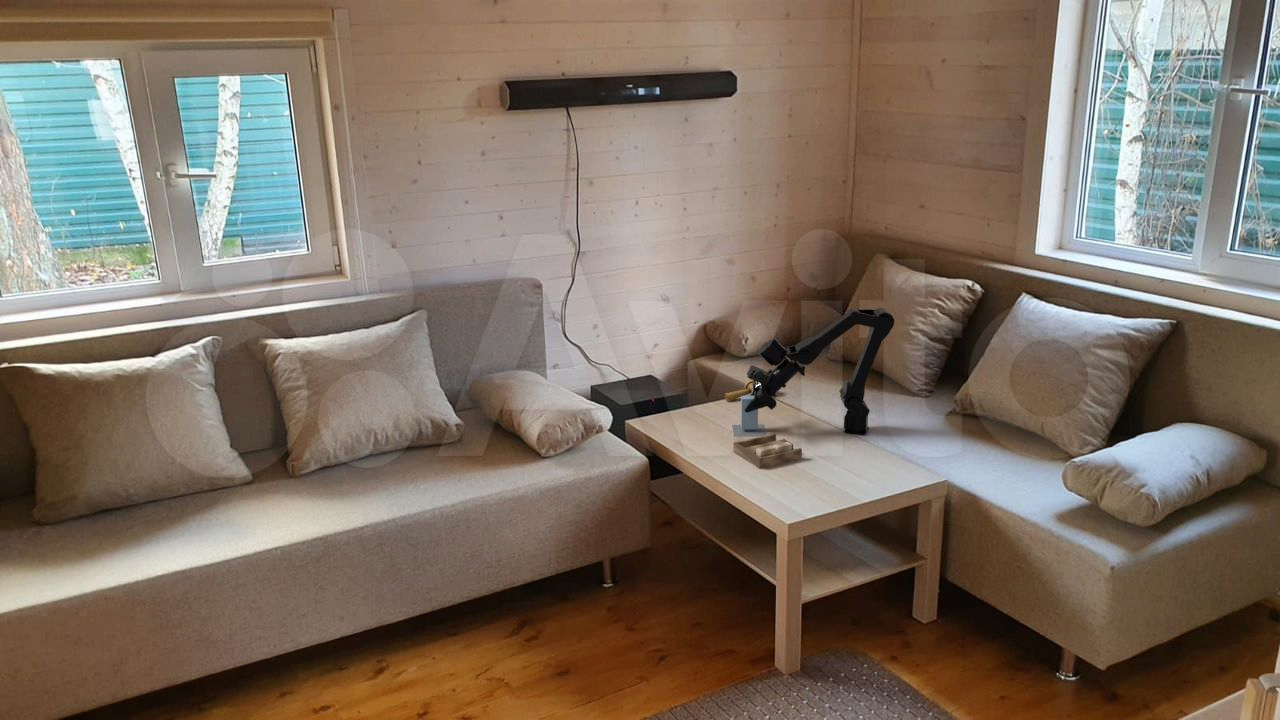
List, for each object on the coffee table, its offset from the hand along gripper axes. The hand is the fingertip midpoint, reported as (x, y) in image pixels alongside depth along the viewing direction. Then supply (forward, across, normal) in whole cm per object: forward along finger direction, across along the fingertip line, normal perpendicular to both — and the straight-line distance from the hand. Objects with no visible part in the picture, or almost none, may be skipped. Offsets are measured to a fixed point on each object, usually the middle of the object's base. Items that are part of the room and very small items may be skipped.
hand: (745, 409), depth 297 cm
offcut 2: (-2, +23, +11) cm, 26 cm away
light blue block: (+3, 0, +5) cm, 6 cm away
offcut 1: (+2, +26, +8) cm, 27 cm away
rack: (+2, +20, +9) cm, 22 cm away
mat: (+4, 0, +6) cm, 8 cm away
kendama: (+3, -32, +8) cm, 33 cm away
